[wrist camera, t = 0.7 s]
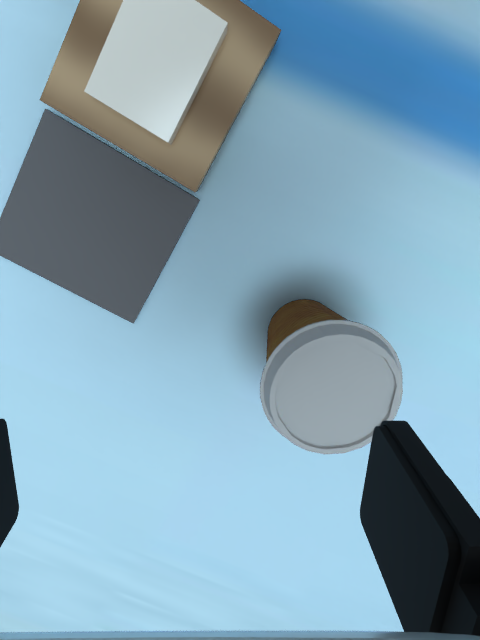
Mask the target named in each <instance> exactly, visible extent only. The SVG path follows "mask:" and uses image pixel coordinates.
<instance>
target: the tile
mask: <svg viewBox="0 0 480 640" xmlns="http://www.w3.org/2000/svg"><path fill="white" fill-rule="evenodd" d="M227 27H228V23H227V22H226V21H225V20H223V19H222V18H220V17H219V16H217V15H216V14H214V13H213V12H212V11H210V10H209V9H207V8H206V7H204V6H203V5H201V4H200V3H199V2H197V1H196V0H123V2H122V4H121V7H120V9H119V11H118V14H117V16H116V18H115V21H114V23H113V25H112V28H111V30H110V32H109V35H108V37H107V39H106V42H105V44H104V46H103V49H102V51H101V53H100V56H99V58H98V60H97V63H96V65H95V67H94V70H93V72H92V74H91V77H90V79H89V81H88V84H87V86H86V88H85V90H84V92H86V93H88V94H89V95H91V96H92V97H94V98H96V99H97V100H99V101H100V102H102V103H104V104H105V105H107V106H109V107H110V108H112V109H114V110H115V111H117V112H118V113H120V114H122V115H123V116H125V117H127V118H128V119H130V120H132V121H133V122H135V123H136V124H138V125H140V126H141V127H143V128H145V129H146V130H148V131H150V132H151V133H153V134H154V135H156V136H158V137H159V138H161V139H163V140H164V141H166V142H168V143H169V144H171V145H172V143H173V141H174V139H175V137H176V135H177V133H178V131H179V128H180V126H181V124H182V122H183V120H184V118H185V116H186V114H187V112H188V110H189V108H190V106H191V104H192V102H193V100H194V98H195V96H196V94H197V92H198V90H199V88H200V86H201V84H202V82H203V80H204V78H205V76H206V74H207V72H208V70H209V68H210V66H211V64H212V62H213V60H214V58H215V56H216V54H217V52H218V50H219V48H220V46H221V44H222V42H223V40H224V38H225V36H226V34H227Z"/></svg>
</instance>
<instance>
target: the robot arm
mask: <svg viewBox="0 0 480 640" xmlns="http://www.w3.org/2000/svg"><path fill="white" fill-rule="evenodd" d="M18 511H19V503H18V497H17V490H16V483H15V477H14V470H13V463H12V456H11V450H10V443H9V436H8V429H7V424H6V421H5V420H4V419H0V547H1V545H2V543H3V542H4V540H5V538H6V537H7V535H8V533H9V532H10V530H11V528H12V526H13V525H14V523H15V521H16V519H17V516H18ZM360 518H361V523H362V526H363V528H364V531H365V533H366V536H367V538H368V541H369V544H370V546H371V549H372V551H373V554H374V556H375V559H376V561H377V564H378V566H379V569H380V571H381V574H382V576H383V579H384V581H385V584H386V586H387V589H388V592H389V594H390V597H391V599H392V602H393V604H394V607H395V609H396V612H397V614H398V617H399V619H400V622H401V624H402V627H403V629H404V632H386V631H89V632H0V640H480V518H479V517H478V516H477V514H476V513H475V512H474V510H473V509H472V507H471V506H470V505H469V503H468V502H467V501H466V499H465V498H464V497H463V495H462V494H461V493H460V491H459V490H458V489H457V487H456V486H455V485H454V483H453V482H452V481H451V479H450V478H449V477H448V476H447V475H446V474H445V473H444V471H443V470H442V468H441V467H440V466H439V464H438V463H437V462H436V460H435V459H434V458H433V456H432V455H431V454H430V452H429V451H428V450H427V448H426V447H425V445H424V444H423V443H422V441H421V440H420V439H419V437H418V436H417V435H416V433H415V432H414V431H413V429H412V428H411V427H410V425H409V424H408V423H407V422H406V421H382V423H381V425H380V426H376V427H375V428H374V431H373V436H372V442H371V448H370V454H369V460H368V466H367V472H366V478H365V483H364V489H363V495H362V501H361V507H360Z"/></svg>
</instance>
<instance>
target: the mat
mask: <svg viewBox="0 0 480 640" xmlns="http://www.w3.org/2000/svg"><path fill="white" fill-rule="evenodd" d="M198 202H199V199H197V198H196V197H194V196H192V195H191V194H189V193H187V192H186V191H184V190H182V189H180V188H179V187H177V186H175V185H174V184H172V183H170V182H169V181H167V180H165V179H164V178H162V177H160V176H158V175H157V174H155V173H153V172H152V171H150V170H148V169H147V168H145V167H143V166H142V165H140V164H138V163H137V162H135V161H133V160H131V159H130V158H128V157H126V156H125V155H123V154H121V153H120V152H118V151H116V150H115V149H113V148H111V147H109V146H108V145H106V144H104V143H103V142H101V141H99V140H98V139H96V138H94V137H93V136H91V135H89V134H87V133H86V132H84V131H82V130H81V129H79V128H77V127H76V126H74V125H72V124H71V123H69V122H67V121H66V120H64V119H62V118H60V117H59V116H57V115H55V114H54V113H52V112H50V111H49V110H47V109H45V111H44V113H43V115H42V118H41V120H40V123H39V125H38V128H37V130H36V132H35V135H34V137H33V140H32V142H31V145H30V147H29V150H28V152H27V154H26V157H25V159H24V162H23V164H22V167H21V169H20V171H19V174H18V176H17V179H16V181H15V184H14V186H13V189H12V191H11V193H10V196H9V198H8V201H7V203H6V206H5V208H4V210H3V213H2V215H1V218H0V256H2V257H4V258H6V259H8V260H10V261H12V262H14V263H16V264H18V265H20V266H22V267H24V268H26V269H28V270H30V271H31V272H33V273H35V274H37V275H39V276H41V277H43V278H45V279H47V280H49V281H51V282H53V283H55V284H57V285H59V286H61V287H63V288H65V289H67V290H69V291H71V292H73V293H75V294H77V295H78V296H80V297H82V298H84V299H86V300H88V301H90V302H92V303H94V304H96V305H98V306H100V307H102V308H104V309H106V310H108V311H110V312H112V313H114V314H116V315H118V316H120V317H122V318H124V319H126V320H127V321H129V322H131V323H134V322H135V320H136V318H137V316H138V314H139V312H140V310H141V309H142V307H143V305H144V303H145V301H146V299H147V297H148V296H149V294H150V292H151V290H152V288H153V286H154V284H155V282H156V281H157V279H158V277H159V275H160V273H161V271H162V269H163V268H164V266H165V264H166V262H167V260H168V258H169V256H170V254H171V253H172V251H173V249H174V247H175V245H176V243H177V241H178V240H179V238H180V236H181V234H182V232H183V230H184V228H185V226H186V225H187V223H188V221H189V219H190V217H191V215H192V213H193V212H194V210H195V208H196V206H197V204H198Z"/></svg>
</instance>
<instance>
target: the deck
mask: <svg viewBox="0 0 480 640" xmlns="http://www.w3.org/2000/svg"><path fill="white" fill-rule="evenodd" d="M196 1H197V2H199V3H200V4H201V5H203V6H204V7H206V8H207V9H209V10H210V11H212V12H213V13H214V14H216V15H217V16H219V17H220V18H222V19H223V20H225V21H226V22H227V23H228V27H227V34H226V36H225V38H224V40H223V42H222V44H221V46H220V48H219V50H218V52H217V54H216V56H215V58H214V60H213V62H212V64H211V66H210V68H209V70H208V72H207V74H206V76H205V78H204V80H203V82H202V84H201V86H200V88H199V90H198V92H197V94H196V96H195V98H194V100H193V102H192V104H191V106H190V108H189V110H188V112H187V114H186V116H185V118H184V120H183V122H182V124H181V126H180V128H179V131H178V133H177V135H176V137H175V139H174V141H173V143H172V145H171V144H169V143H168V142H166V141H164V140H163V139H161V138H159V137H158V136H156V135H154V134H153V133H151V132H150V131H148V130H146V129H145V128H143V127H141V126H140V125H138V124H136V123H135V122H133V121H132V120H130V119H128V118H127V117H125V116H123V115H122V114H120V113H118V112H117V111H115V110H114V109H112V108H110V107H109V106H107V105H105V104H104V103H102V102H100V101H99V100H97V99H96V98H94V97H92V96H91V95H89V94H88V93H86V92H84V90H85V88H86V86H87V84H88V81H89V79H90V77H91V74H92V72H93V70H94V67H95V65H96V63H97V60H98V58H99V56H100V53H101V51H102V49H103V46H104V44H105V42H106V39H107V37H108V35H109V32H110V30H111V28H112V25H113V23H114V21H115V18H116V16H117V14H118V11H119V9H120V7H121V4H122V2H123V0H80V2H79V4H78V7H77V9H76V12H75V14H74V17H73V19H72V22H71V24H70V26H69V29H68V31H67V34H66V36H65V39H64V41H63V44H62V46H61V49H60V51H59V54H58V56H57V59H56V61H55V64H54V66H53V68H52V71H51V73H50V76H49V78H48V81H47V83H46V86H45V88H44V91H43V93H42V96H41V98H40V100H41V101H42V102H44V103H46V104H47V105H49V106H51V107H52V108H54V109H56V110H57V111H59V112H61V113H63V114H64V115H66V116H68V117H69V118H71V119H73V120H74V121H76V122H78V123H79V124H81V125H83V126H84V127H86V128H88V129H89V130H91V131H93V132H94V133H96V134H98V135H100V136H101V137H103V138H105V139H106V140H108V141H110V142H111V143H113V144H115V145H116V146H118V147H120V148H121V149H123V150H125V151H126V152H128V153H130V154H132V155H133V156H135V157H137V158H138V159H140V160H142V161H143V162H145V163H147V164H148V165H150V166H152V167H153V168H155V169H157V170H158V171H160V172H162V173H163V174H165V175H167V176H169V177H170V178H172V179H174V180H175V181H177V182H179V183H180V184H182V185H184V186H185V187H187V188H189V189H190V190H192V191H194V192H197V191H198V189H199V187H200V185H201V183H202V181H203V179H204V177H205V175H206V174H207V172H208V170H209V168H210V166H211V164H212V162H213V160H214V159H215V157H216V155H217V153H218V151H219V149H220V147H221V145H222V143H223V142H224V140H225V138H226V136H227V134H228V132H229V130H230V128H231V127H232V125H233V123H234V121H235V119H236V117H237V115H238V113H239V111H240V110H241V108H242V106H243V104H244V102H245V100H246V98H247V96H248V94H249V93H250V91H251V89H252V87H253V85H254V83H255V81H256V79H257V78H258V76H259V74H260V72H261V70H262V68H263V66H264V64H265V62H266V61H267V59H268V57H269V55H270V53H271V51H272V49H273V47H274V46H275V44H276V41H277V39H278V37H279V34H280V32H281V29H279V28H278V27H276V26H275V25H273V24H272V23H271V22H269V21H268V20H266V19H265V18H264V17H262V16H261V15H259V14H258V13H257V12H255V11H254V10H252V9H251V8H250V7H248V6H247V5H245V4H244V3H242V2H241V1H240V0H196Z"/></svg>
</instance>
